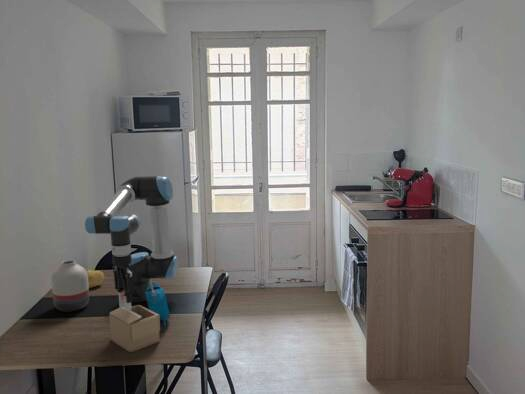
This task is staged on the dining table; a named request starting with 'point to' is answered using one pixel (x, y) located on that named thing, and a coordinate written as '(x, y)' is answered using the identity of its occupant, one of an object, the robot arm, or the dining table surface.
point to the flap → (125, 314)
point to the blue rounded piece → (157, 301)
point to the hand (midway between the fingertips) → (125, 308)
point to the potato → (94, 278)
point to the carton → (136, 330)
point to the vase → (70, 287)
